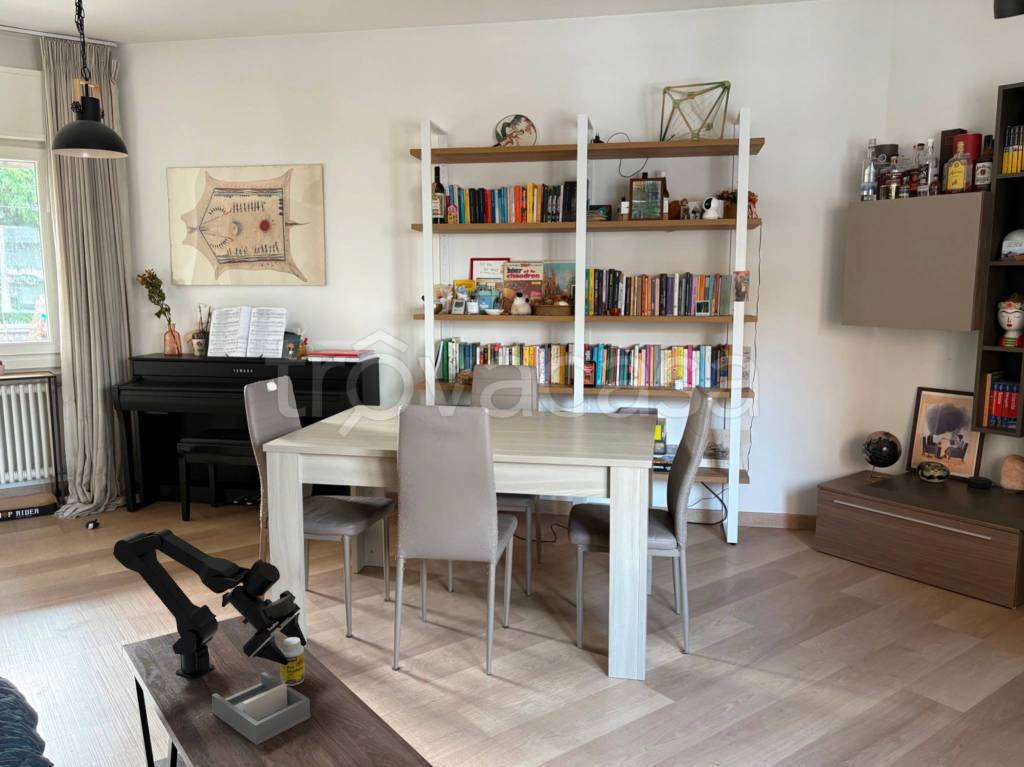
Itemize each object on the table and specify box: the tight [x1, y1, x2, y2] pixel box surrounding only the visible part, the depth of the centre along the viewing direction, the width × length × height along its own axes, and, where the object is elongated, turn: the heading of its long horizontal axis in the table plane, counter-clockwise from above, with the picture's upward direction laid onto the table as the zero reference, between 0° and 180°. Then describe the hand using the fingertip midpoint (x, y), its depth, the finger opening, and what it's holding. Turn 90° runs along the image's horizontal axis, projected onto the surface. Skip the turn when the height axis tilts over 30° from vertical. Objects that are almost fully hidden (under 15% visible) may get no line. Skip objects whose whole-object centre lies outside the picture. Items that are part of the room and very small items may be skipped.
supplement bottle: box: [279, 637, 306, 687], centre depth 178 cm, size 6×6×10 cm
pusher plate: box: [243, 684, 287, 721], centre depth 163 cm, size 1×10×5 cm, turn 140°
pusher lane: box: [211, 671, 311, 746], centre depth 164 cm, size 18×13×4 cm
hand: (296, 654), depth 178 cm, fingers open, 9 cm apart
